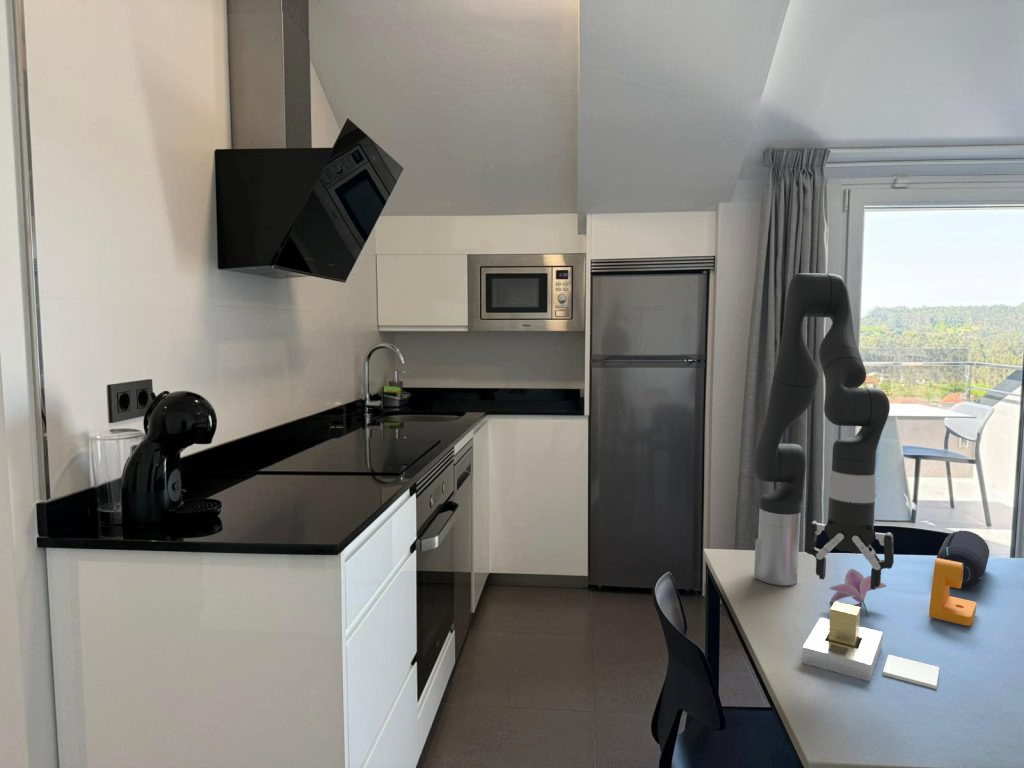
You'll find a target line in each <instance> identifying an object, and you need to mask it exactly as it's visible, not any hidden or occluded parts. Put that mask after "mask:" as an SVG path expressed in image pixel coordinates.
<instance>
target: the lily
mask: <svg viewBox="0 0 1024 768" xmlns="http://www.w3.org/2000/svg"><path fill="white" fill-rule="evenodd" d="M870 586H871V575H868V576H866V577H865V576H864V575H863V574H862V573H861V572H860V571H858V570H856V569H854V568H850V569H849V570H847V572H846V574H845V576H844V583H841V584H837V585H834V586H831V587H829V588H828V589H829V590H832V591H835V592H834V594H833V596H832V597H831V599H830V601H829V602H830V603H832V602H833V603H834V602H838V601H839V600H842V599H845V598H849V597H851V598H852V599H853V600H855V602H857V603H860V604H863V607H864V611H865V614H866V615H865V616H866V617H867V616H868V617H867V618H869V614H868V613H869V612H868V609H867V607H866V604H865V597H866V596H867V594H868V593H867V592H870V591H873V590H872V589H870ZM886 587H887V584H885V583H883V582H881V583H880V585H879V587H876V589H875V590H878V589H883V588H886Z"/></svg>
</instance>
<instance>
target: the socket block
mask: <svg viewBox="0 0 1024 768" xmlns="http://www.w3.org/2000/svg"><path fill="white" fill-rule="evenodd" d="M829 623H830V618H829V619H828V618H824V617H820V618H819V619H818V620H817V622H816V624H815V625H814V627H813V628H812V631H811V633H810V634H809V635H808V638H807V639H806V641H805V642H804V644H803V646H802V651H801V653H802V655H801V663H802V664H804V665H808V666H811V665H812V666H811V667H815V666H816V667H815V668H818V667H819V669H822V670H825V671H826V670H827V671H829V670H830V671H829V672H833V671H834V672H833V673H836V672H837V674H840V675H844V676H848V677H851V678H855V679H860V680H863V681H865V682H866V681H867V682H868V683H869V682H871V679H872V677H873V675H874V671H875V669H876V666H875V665H877V663H876V662H878V660H877V659H879V657H880V653H881V651H882V648H883V634H884V633H883V631H880V630H876V629H871V628H867V627H863V626H859V642H858V649H856V648H852V647H848V646H844V645H840V644H836V643H832V642H829ZM878 656H879V657H878Z"/></svg>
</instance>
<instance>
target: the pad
mask: <svg viewBox="0 0 1024 768" xmlns="http://www.w3.org/2000/svg"><path fill="white" fill-rule="evenodd" d="M939 674H940V666H936V665H932V664H928V663H923V662H920V661H916V660H913V659H908V658H905V657H900V656H896V655H891V654H889V653H888V655H887V657H886V661H885V664H884V667H883V671H882V676H885V677H889V678H892V679H897V680H901V681H904V682H909V683H912V684H915V685H920V686H923V687H926V688H931V689H934V690H937V687H938V683H939V682H938V680H939Z"/></svg>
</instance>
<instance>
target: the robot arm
mask: <svg viewBox="0 0 1024 768" xmlns="http://www.w3.org/2000/svg"><path fill="white" fill-rule="evenodd" d="M849 295H850V294H849V291H848V285H847V283H846V281H845V280H844V278H843V276H841V275H838V274H834V273H815V272H811V273H810V272H800V273H799V272H798V273H796V274H794V275H793V276H792V277H791V280H790V283H789V285H788V288H787V293H786V301H785V306H784V318H783V325H782V332H781V333H782V334H781V340H780V344H779V345H780V346H779V350H778V353H777V355H778V356H777V360H776V363H775V369H774V372H773V377H772V382H771V387H770V392H769V399H768V405H767V409H766V415H765V419H764V424H763V427H762V430H761V433H760V437H759V440H758V444H757V447H756V451H755V455H754V462H753V463H754V467H753V468H754V473H755V476H756V478H757V479H758V480H759V481H762V482H768V483H781V486H779V487H778V488H777V489H775V490H772V491H770V492H767V493H765V494H763V495H761V497H760V500H759V512H758V514H759V515H758V532H757V533H758V536H757V537H758V538H756V539H755V549H754V566H753V567H754V569H753V578H754V579H756V580H759V581H761V582H764V583H767V584H769V585H775V586H787V587H788V586H794V585H795V584H797V582H798V575H799V574H798V570H799V569H798V568H799V551H800V530H801V528H800V527H801V512H802V510H801V508H802V503H803V499H804V486H805V480H806V479H805V477H806V469H807V458H806V453H805V451H804V448H803V447H802V446H801V445H800V444H797V443H780V442H781V440H782V438H783V435H784V434H785V433H786V431H787V430H788V429H789V428H790V427H791V425H793V424H794V423H795V422H796V421H797V420H799V418H800V417H801V416H802V415H803V414H804V413H805V412H806V411H807V410H808V408H809V407H810V406H811V405H812V402H813V400H814V396H815V393H816V389H817V384H818V380H819V370H818V367H817V363H816V362H815V360H814V358H813V355H812V353H811V351H810V349H809V347H808V345H807V344H806V341H805V337H804V333H803V323H804V322H803V321H804V319H805V317H806V318H808V317H809V318H810V317H811V318H829V319H830V320H831V322H832V323H831V326H830V328H829V330H828V331H827V333H826V334H825V335H824V337H823V339H822V340H821V343H820V346H819V350H818V351H819V352H818V354H819V355H818V356H819V362H820V365H821V366H820V367H821V369H822V371H823V375H824V379H825V397H824V404H823V405H824V406H823V411H824V415H825V417H826V418H827V420H828V421H829V422H830V423H831V424H833V425H835V426H838V427H840V426H841V427H860V429H859V430H858V432H857V433H856V434H855V435H853V436H849V437H844V438H840V439H837V440H835V441H834V442H833V445H832V455H831V456H832V460H831V461H832V462H831V474H830V479H829V485H828V486H829V487H828V488H829V489H828V490H829V491H828V509H827V522H826V524H823V523H821V522H820V523H819V522H818V521H817V520H812V521H811V522H810V523H809V525H808V529H807V538H806V539H807V540H806V547H805V552H806V554H808V555H812V556H813V557H814V558H815V559H816V560H815V561H816V563H815V573H816V576H818V577H819V580H825V578H826V571H827V570H826V569H827V568H826V567H827V557H826V556H827V555H828V554H829V553H830V552H831V551H832V550H833V549H834V548H836V549H838V551H841V552H850V553H852V554H860V553H861V554H862V556H863V557H864V558H865V559H866V560H867V561H868V563H869V564H870V565H871V567H872V568H871V570H870V571H871V573H870V576H871V586H870V589H872V590H871V591H876V590H877V589H876V587H879V585H880V583H882V581H881V579H882V570H885V569H888V570H890V569H892V568H893V565H894V563H895V562H894V561H895V560H894V557H895V556H894V534H893V533H892V532H890V531H889V532H885V533H883V532H876V531H875V527H874V526H875V524H874V523H875V508H876V507H875V505H876V496H877V493H876V479H875V477H876V476H875V474H876V472H875V471H876V455H877V449H878V445H879V443H880V440H881V437H882V434H883V430H884V429H885V426H886V423H887V420H888V418H889V416H890V415H889V414H890V409H891V407H890V400H889V398H888V396H887V393H886V392H885V391H883V390H882V389H880V388H876V387H861V386H863V384H864V383H865V382H866V379H867V372H866V371H867V370H866V368H865V364H864V361H863V358H862V356H861V353H860V350H859V348H858V345H857V343H856V342H857V341H856V338H855V331H854V324H853V323H854V322H853V315H852V308H851V307H852V306H851V302H850V296H849ZM822 531H824V533H825V535H826V536H827V538H828V539H829V541H828V542H827V543H826V544H824V546H822V547H821V549H820V548H817V547H816V545H817V540H818V538H817V537H818V536H819V535H820V534H821V533H822ZM875 540H877V541H878V542H879V545H880V546H883V551H884V552H883V556H884V557H883V559H880V558H879V556H878V555H877V553H876V550H875V549H874V548H873V547H872V546H871V544H872V543H873V542H875Z"/></svg>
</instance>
